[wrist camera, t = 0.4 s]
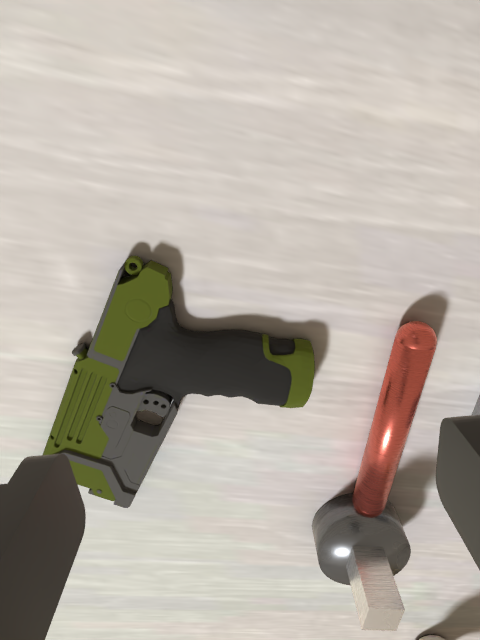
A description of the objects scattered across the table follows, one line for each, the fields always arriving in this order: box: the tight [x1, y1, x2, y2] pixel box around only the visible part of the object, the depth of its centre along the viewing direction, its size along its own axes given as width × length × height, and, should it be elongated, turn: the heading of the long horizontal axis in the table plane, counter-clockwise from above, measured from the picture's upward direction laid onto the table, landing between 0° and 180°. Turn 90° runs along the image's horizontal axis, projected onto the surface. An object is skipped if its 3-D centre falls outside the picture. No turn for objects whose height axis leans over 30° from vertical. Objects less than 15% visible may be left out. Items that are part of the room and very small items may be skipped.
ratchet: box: [312, 321, 437, 631], centre depth 29 cm, size 23×7×8 cm, turn 176°
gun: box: [43, 256, 315, 508], centre depth 30 cm, size 2×19×15 cm
